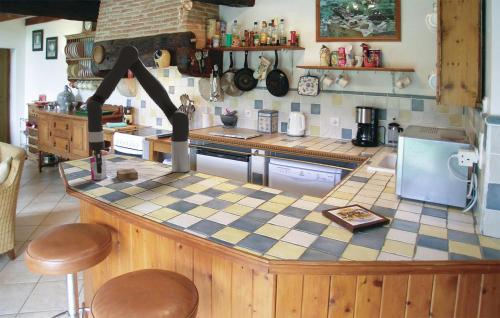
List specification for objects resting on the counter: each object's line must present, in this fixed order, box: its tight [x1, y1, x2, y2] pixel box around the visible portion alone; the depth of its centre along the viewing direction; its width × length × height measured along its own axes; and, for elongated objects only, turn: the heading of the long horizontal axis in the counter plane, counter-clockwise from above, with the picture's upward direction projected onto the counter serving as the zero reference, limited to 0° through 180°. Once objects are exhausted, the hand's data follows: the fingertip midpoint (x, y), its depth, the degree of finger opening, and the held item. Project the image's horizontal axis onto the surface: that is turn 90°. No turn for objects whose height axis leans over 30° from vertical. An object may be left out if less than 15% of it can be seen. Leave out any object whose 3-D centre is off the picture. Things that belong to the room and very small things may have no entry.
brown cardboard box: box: [115, 168, 139, 182], centre depth 213 cm, size 9×9×4 cm
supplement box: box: [89, 156, 108, 182], centre depth 209 cm, size 6×6×12 cm
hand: (98, 171), depth 210 cm, fingers open, 8 cm apart
